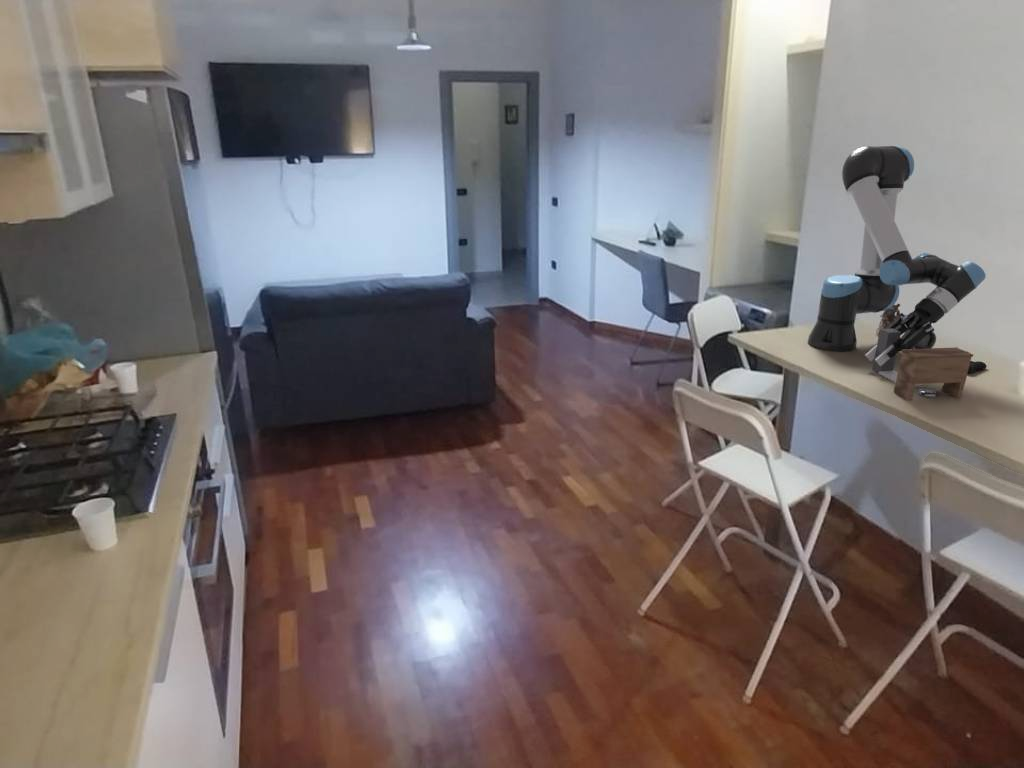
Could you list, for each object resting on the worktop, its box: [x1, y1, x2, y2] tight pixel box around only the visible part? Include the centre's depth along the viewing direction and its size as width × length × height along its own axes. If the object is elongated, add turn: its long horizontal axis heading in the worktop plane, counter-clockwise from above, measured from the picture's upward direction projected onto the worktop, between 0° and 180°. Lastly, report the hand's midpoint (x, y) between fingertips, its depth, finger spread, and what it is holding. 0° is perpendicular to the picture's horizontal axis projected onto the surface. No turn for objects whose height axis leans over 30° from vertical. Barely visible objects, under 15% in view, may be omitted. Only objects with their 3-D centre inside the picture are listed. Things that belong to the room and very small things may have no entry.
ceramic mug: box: [903, 331, 937, 349], centre depth 229 cm, size 11×8×8 cm
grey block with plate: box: [872, 329, 923, 388], centre depth 199 cm, size 16×5×13 cm, turn 7°
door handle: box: [967, 360, 987, 375], centre depth 215 cm, size 3×20×16 cm
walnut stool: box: [893, 347, 974, 401], centre depth 187 cm, size 6×16×13 cm, turn 97°
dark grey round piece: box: [917, 388, 938, 399], centre depth 189 cm, size 4×4×1 cm
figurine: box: [875, 302, 901, 338], centre depth 241 cm, size 7×7×12 cm
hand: (873, 360), depth 205 cm, fingers closed on grey block with plate, 4 cm apart
